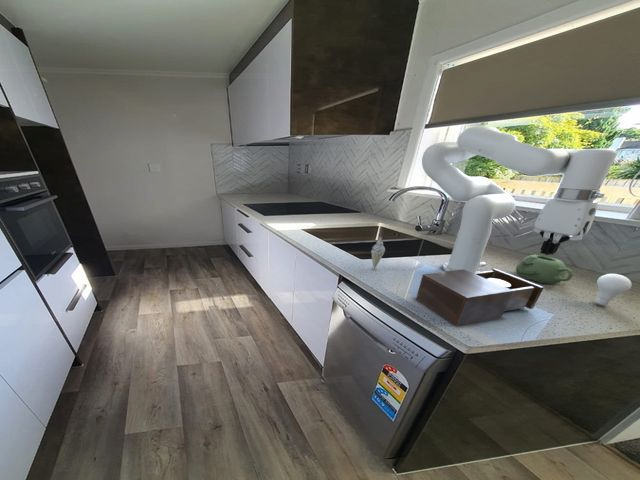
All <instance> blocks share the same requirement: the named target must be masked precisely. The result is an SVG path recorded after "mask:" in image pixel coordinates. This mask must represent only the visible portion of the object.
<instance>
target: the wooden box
mask: <svg viewBox="0 0 640 480" xmlns="http://www.w3.org/2000/svg"><path fill="white" fill-rule="evenodd" d="M512 293H513V290H511V289H508V288H506V287H504V286H501V285H499V284H497V283H495V282H492V281H490V280H488V279H485V278H483V277H481V276H478V275H476V274H474V273H471V272H469V271H467V270H464V269H462V270H454V271H439V272H430V273H423V274H422V276H421V280H420V283H419V287H418V290H417V293H416V296H415V300H416V301H418V302H419V303H420V304H422V305H424V306H425V307H427V308H428V309H430V310H431V311H432V312H434V313H436V314H437V315H438V316H440V317H441V318H444V319H445V320H446V321H448V322H449V323H451V324H453V325H454V326H456V327H458V326H465V325H470V324H476V323H481V322H487V321H488V322H489V321H492V320H498V319H502V317H503V315H504V313H505V312H506V311H505V308H506V306H507V304H508V302H509V300H510V298H511V296H512Z"/></svg>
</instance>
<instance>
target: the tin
mask: <svg viewBox="0 0 640 480" xmlns="http://www.w3.org/2000/svg"><path fill="white" fill-rule="evenodd" d="M488 280H490V281H492V282H495V283H497V284H499V285H501V286H504V287H506V288H508V289H509V288H510V287H511V284H510V283H508V282H506V281H503V280H500V279H494V278H489V279H488Z"/></svg>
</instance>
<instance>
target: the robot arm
mask: <svg viewBox="0 0 640 480" xmlns="http://www.w3.org/2000/svg"><path fill="white" fill-rule="evenodd" d="M476 156H480V157H483V158H486V159H489V160H491V161H494V162H495V163H496V164H498V165H499V166H502V167H504V168H506V169H509V170H512V171H515V172H517V173H520V174H524V175H528V176H533V177H537V176H557V175H562V177H561V179H560V182H559V184H558V186H557V188H556V191H555V193H554V195H553V197H550V198H549V199H548V201H547V202H545V204H544V205H543V207H542V209H541V211H540V213H539V214H538V216H537V218H536V220H535V222H534V227H533V230H532V232H534V233H536V234H539V235H540V236H541V238H542V241H543V243H542V245H541V247H540V254H541V255H544V256H549V255H554V254H556V253H557V251H559V247H560V246H561V244H563V243H565V242H568V241H574V242H575V241H576V242H577V241H582V240H583V238H584V235H587V234H588V233H589V231H590V229H591V227H592V225H593V222H594V220H595V217H596V214H597V209H598V205H599V202H598V201H596V199H603V198H604V197H605V193H603V192H601V187H602V185H603V184H604V182H605V179H606V177H607V176H608V174H609V172H610V170H611V168H612V166H613V164H614V162H615V161H616V160H615V159H616V158H617V156H618V151H617V149H614V148H582V149H581V148H580V149H572V148H570V149H569V148H544V147H539V146H535V145H532V144H528V143H524V142H521V141H519V140H518V137H517V135H515V134H512V133H507V132H503V131H500V130H499V129H498V128H496V127H494V126H480V125H479V126H470V127H468V128H467V129H464V130H463V131H462V132H461V133H460V134H459V136H458V137H457V141H456V142H455V141H454V142H453V141H452V142H451V141H447V142H446V141H444V142H443V141H442V142H436V143H433V144H431V145H430V146H428V147H427V148H426V149H425V150H424V152H423V154H422V157H421V165H422V169H423V171H424V173H425V174H426V175H427V176H428V177H429V178H430V179H431V180H432V181H433V182H434V183H436V185H438V187H439V188H440V189H442V190H443V191H444V192H445V193H446V194H447V195H448V196H449V197H450V198H451V199H452V200H454V201H456V202H465V204H464V206H463V207H462V212H461V222H460V226H459V229H458V232H457V235H456V238H455V242H454V245H453V247H452V250H451V254H450V257H449V260H448V262H446V263H443V264H442V269H443V270H444V272H446V271H454V270H462V269H464V270H467V271H469V272H471V273H477V272H481V271H480V270H479V269H480V268H481V267H482V268H483V267H486V266H487V263H486V262H485V261H482V257H483V255H484V253H485V250H486V247H487V245H488V242H489V240H490V237H491V234H492V229H493V220H498V219H503V218H506V217H508V216H510V215H512V214H513V212H514V211H515V210H516V200H515V199H514V197H513V196H512V195H511V194H510V193H508V192H507V191H506V190H504V189H503V188H502V187H500V186H499V185H498V184H497V183H496V182H494V181H493V180H491V179H489V178H487V177H485V176H469V175H467V174H466V173H464V172H462V171H461V169H459V168H458V167H456V166H455V165H452V164H457V163H461V162H463V161H466V160H468V159H470V158H474V157H476Z"/></svg>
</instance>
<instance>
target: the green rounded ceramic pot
mask: <svg viewBox="0 0 640 480" xmlns="http://www.w3.org/2000/svg"><path fill="white" fill-rule="evenodd" d="M515 272H516V273H517V274H518V275H519V276H520V277H521V278H523V279H525V280H528V281H531V282H532V281H533V282H536V283H541V284H547V285H552V284H560V283H561V282H567V281H568V282H569V281H570V280H571V279H572V278H573V276H574V273H573V272H574V271H573V270H572V269H571V268H569V267H566V264H565V263H564V261H562V260H560V259H558V258H556V257H553V256H549V255H545V254H530V255H527V256H526V257H524V258H523V259H522V260H520V261H519V262H518V263H517V265H516V267H515ZM567 272H568V276H567V277H566V274H567Z"/></svg>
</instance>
